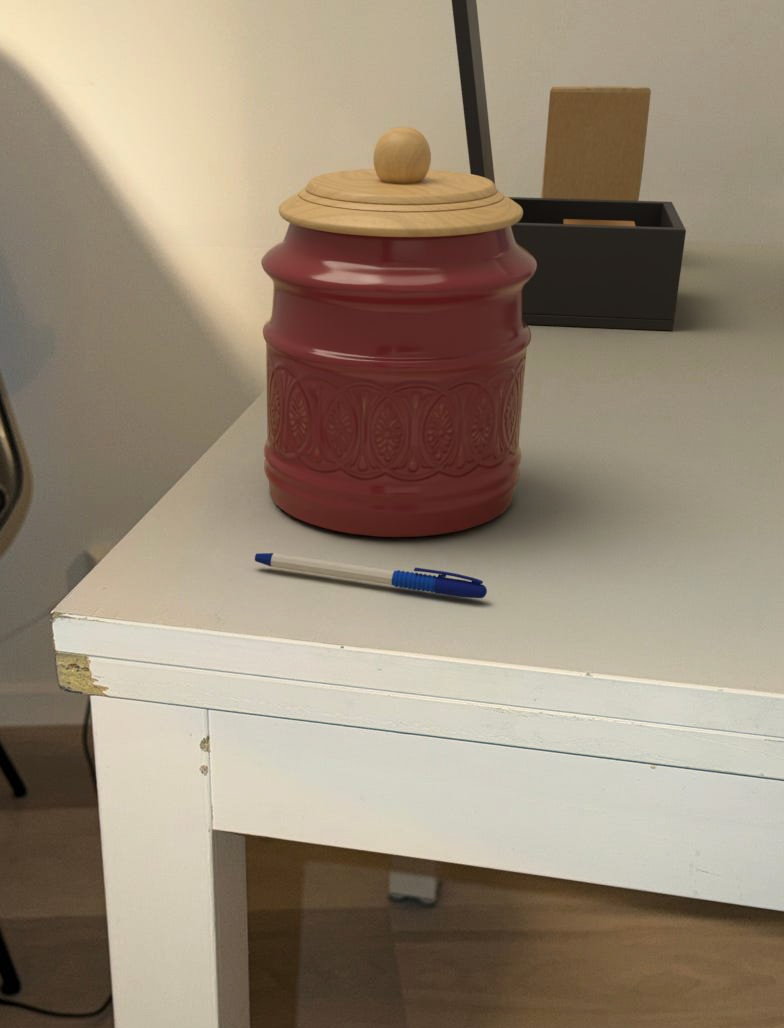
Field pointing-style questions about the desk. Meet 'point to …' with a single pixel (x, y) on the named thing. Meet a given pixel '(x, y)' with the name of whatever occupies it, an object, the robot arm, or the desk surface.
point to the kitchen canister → (396, 348)
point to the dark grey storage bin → (601, 263)
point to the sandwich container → (595, 142)
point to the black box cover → (473, 88)
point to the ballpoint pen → (380, 575)
